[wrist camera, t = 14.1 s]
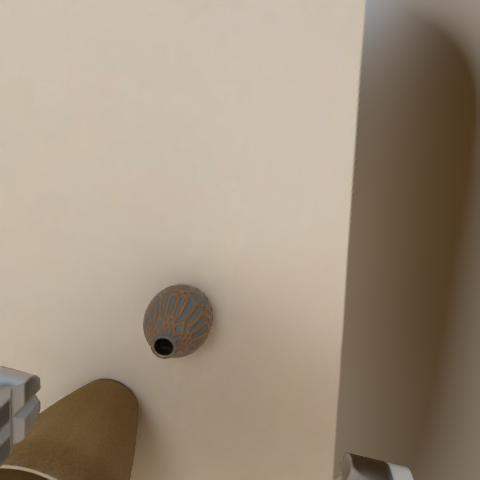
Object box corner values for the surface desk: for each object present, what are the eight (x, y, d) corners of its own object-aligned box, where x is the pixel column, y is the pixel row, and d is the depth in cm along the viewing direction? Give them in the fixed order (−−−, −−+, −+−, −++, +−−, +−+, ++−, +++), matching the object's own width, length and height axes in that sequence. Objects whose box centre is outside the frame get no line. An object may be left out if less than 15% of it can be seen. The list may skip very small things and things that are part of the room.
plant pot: (37, 362, 47) (-82, 474, 32) (145, 344, 44) (72, 457, 29) (78, 456, 51) (-11, 596, 35) (181, 445, 48) (132, 591, 33)
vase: (158, 272, 41) (126, 308, 33) (219, 280, 41) (202, 318, 32) (157, 327, 43) (126, 374, 35) (215, 335, 43) (198, 385, 34)
